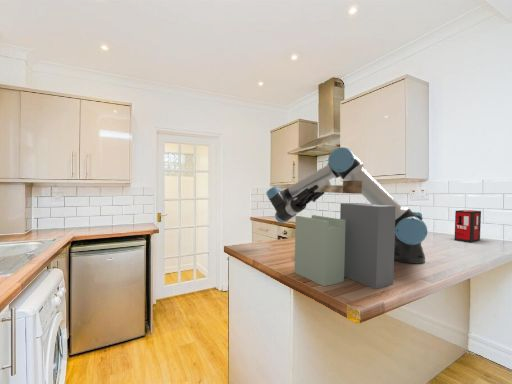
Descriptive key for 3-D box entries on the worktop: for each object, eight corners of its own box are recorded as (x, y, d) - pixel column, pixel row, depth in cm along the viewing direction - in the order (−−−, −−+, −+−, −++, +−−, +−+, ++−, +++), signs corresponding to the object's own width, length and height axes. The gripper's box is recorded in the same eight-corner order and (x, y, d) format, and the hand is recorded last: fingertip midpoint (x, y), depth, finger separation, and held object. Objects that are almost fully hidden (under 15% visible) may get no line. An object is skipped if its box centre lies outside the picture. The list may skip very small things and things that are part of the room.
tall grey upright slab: (338, 274, 100) (340, 203, 100) (355, 270, 106) (357, 202, 105) (376, 289, 87) (378, 206, 86) (393, 283, 92) (395, 205, 91)
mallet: (308, 191, 119) (308, 180, 119) (316, 191, 122) (316, 181, 121) (353, 193, 98) (353, 180, 97) (361, 193, 100) (362, 180, 100)
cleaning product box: (463, 238, 181) (464, 209, 181) (479, 240, 174) (481, 211, 173) (454, 240, 172) (455, 210, 171) (471, 243, 164) (472, 212, 164)
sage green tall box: (294, 272, 102) (295, 216, 101) (313, 268, 107) (314, 215, 106) (324, 286, 88) (325, 221, 88) (343, 281, 93) (345, 219, 93)
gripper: (310, 211, 133) (342, 190, 115) (285, 213, 125) (315, 190, 107) (305, 199, 136) (336, 176, 118) (281, 199, 128) (309, 174, 110)
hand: (326, 182), depth 113 cm, fingers closed on mallet, 3 cm apart
